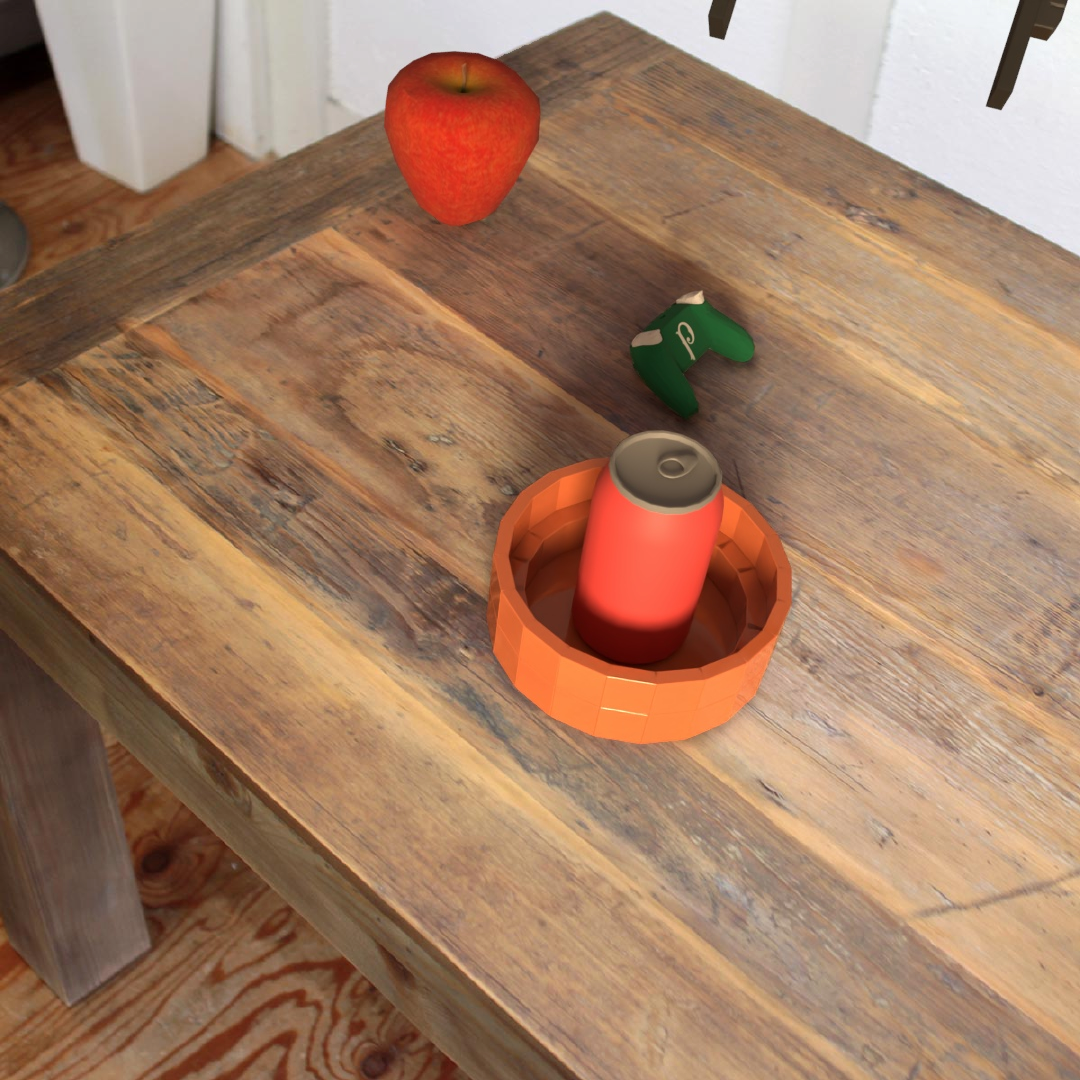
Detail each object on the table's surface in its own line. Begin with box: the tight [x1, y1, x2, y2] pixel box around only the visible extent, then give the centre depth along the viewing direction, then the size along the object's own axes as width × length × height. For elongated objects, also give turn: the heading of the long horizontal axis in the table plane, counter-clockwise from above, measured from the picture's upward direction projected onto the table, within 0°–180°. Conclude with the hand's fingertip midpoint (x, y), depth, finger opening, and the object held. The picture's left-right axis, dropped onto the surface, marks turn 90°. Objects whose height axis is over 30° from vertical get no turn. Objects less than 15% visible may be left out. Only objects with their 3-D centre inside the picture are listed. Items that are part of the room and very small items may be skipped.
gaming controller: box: [629, 289, 756, 420], centre depth 88 cm, size 9×4×6 cm
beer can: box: [571, 430, 724, 664], centre depth 69 cm, size 7×7×12 cm
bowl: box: [485, 456, 793, 745], centre depth 72 cm, size 16×16×6 cm
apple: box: [383, 50, 542, 227], centre depth 95 cm, size 11×11×12 cm
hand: (855, 64), depth 63 cm, fingers open, 13 cm apart
